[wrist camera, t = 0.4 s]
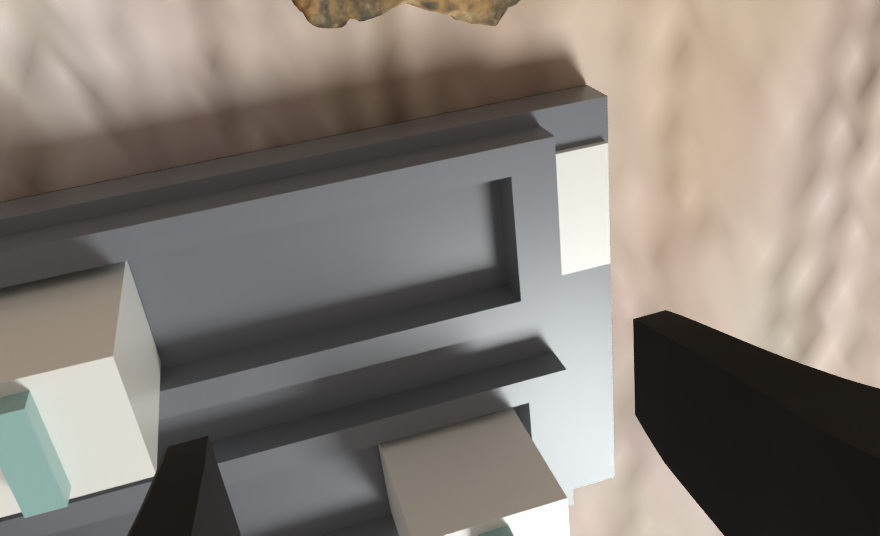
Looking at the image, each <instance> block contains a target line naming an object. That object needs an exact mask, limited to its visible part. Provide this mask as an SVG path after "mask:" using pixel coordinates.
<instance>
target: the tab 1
mask: <svg viewBox="0 0 880 536" xmlns="http://www.w3.org/2000/svg"><path fill="white" fill-rule="evenodd" d="M160 370H161V361H160V358H159V355H158V351H157V348H156V345H155V342H154V339H153V336H152V333H151V330H150V327H149V324H148V321H147V318H146V315H145V312H144V309H143V306H142V303H141V300H140V297H139V294H138V291H137V288H136V285H135V282H134V279H133V276H132V273H131V270H130V267H129V264H128V261H123V262H119V263H114V264H110V265H105V266H100V267H96V268H91V269H87V270H82V271H78V272H73V273H68V274H64V275H59V276H55V277H50V278H45V279H41V280H36V281H32V282H27V283H23V284H18V285H13V286H9V287H4V288H0V518H2V517H5V516H9V515H13V514H16V513H20V512H22V514H23V516H24V518H27V517H31V516H35V515H38V514H42V513H46V512H49V511H53V510H57V509H61V508H64V507H68V503H69V499H72V498H76V497H80V496H83V495H87V494H91V493H95V492H98V491H102V490H106V489H109V488H113V487H117V486H121V485H124V484H128V483H132V482H135V481H139V480H143V479H147V478H150V477H154V475H155V473H156V470H157V450H158V424H159V397H160Z"/></svg>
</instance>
